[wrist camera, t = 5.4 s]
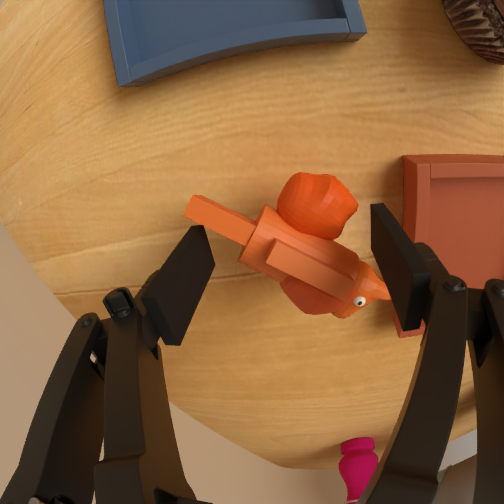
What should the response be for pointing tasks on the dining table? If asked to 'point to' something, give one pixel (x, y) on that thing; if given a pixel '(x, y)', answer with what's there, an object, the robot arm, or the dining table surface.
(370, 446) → the pepper mill
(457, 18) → the cupcake
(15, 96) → the dining table surface
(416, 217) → the terracotta tray
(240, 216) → the orange toy bird
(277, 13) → the blue tray
